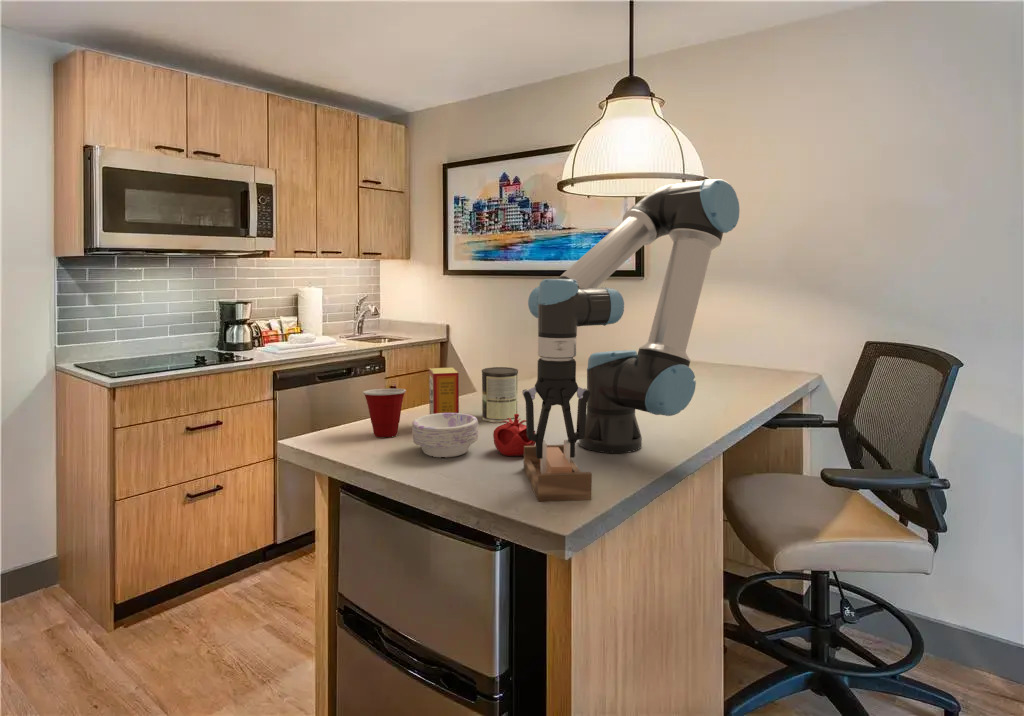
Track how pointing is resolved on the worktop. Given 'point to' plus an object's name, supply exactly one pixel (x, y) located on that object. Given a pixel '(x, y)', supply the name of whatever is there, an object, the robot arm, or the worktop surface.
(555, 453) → the orange rectangular block
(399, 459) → the worktop surface
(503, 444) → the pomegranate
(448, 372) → the baking soda box
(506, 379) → the coffee can
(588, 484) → the wooden crate tray
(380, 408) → the plastic cup
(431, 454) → the paper bowls
